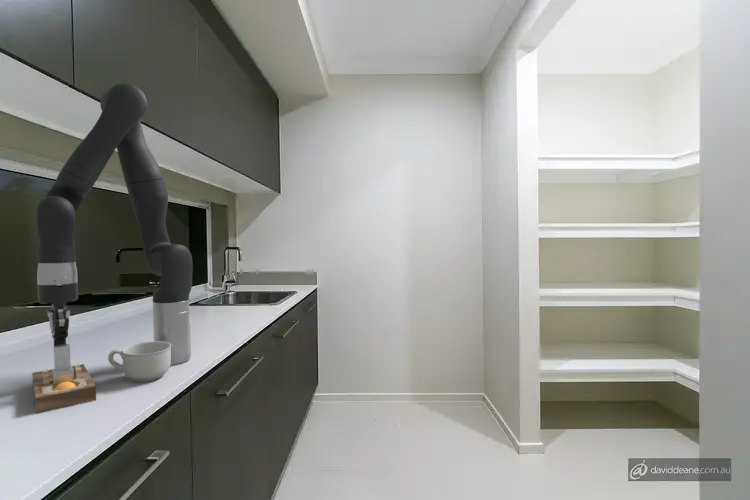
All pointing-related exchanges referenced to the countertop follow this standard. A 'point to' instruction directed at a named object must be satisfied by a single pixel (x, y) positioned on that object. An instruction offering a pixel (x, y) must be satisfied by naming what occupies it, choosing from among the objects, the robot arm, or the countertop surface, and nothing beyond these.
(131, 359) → the teacup
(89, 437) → the countertop surface
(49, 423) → the countertop surface
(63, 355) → the grey upright block
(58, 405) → the wooden holder
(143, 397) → the countertop surface
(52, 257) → the robot arm
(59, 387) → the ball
